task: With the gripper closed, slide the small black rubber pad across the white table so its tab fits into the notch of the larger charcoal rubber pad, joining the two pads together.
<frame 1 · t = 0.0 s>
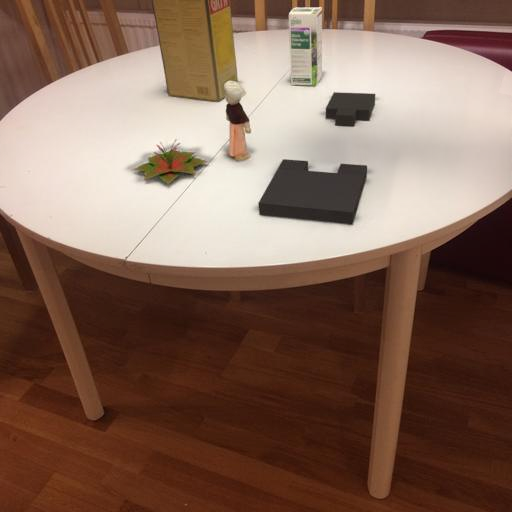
grandmother figurine: (240, 157, 88), on the table
small pad: (350, 111, 99), on the table
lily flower: (171, 170, 86), on the table
syrup box: (306, 82, 114), on the table
food packaging: (203, 92, 114), on the table
base pad: (315, 195, 76), on the table
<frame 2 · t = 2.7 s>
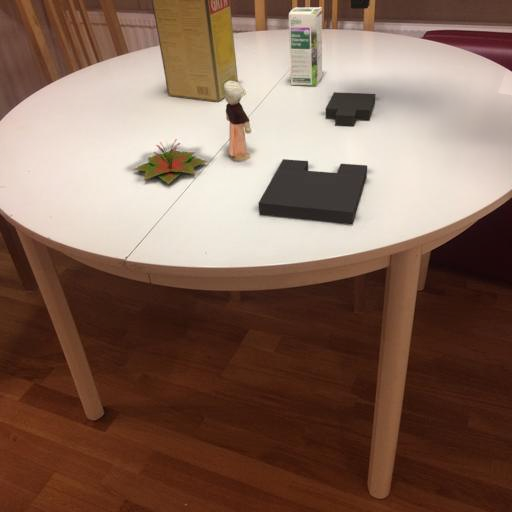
hand: (360, 7, 96), 16 cm above the table, tool pointing down, fingers closed
nothing on the table moved.
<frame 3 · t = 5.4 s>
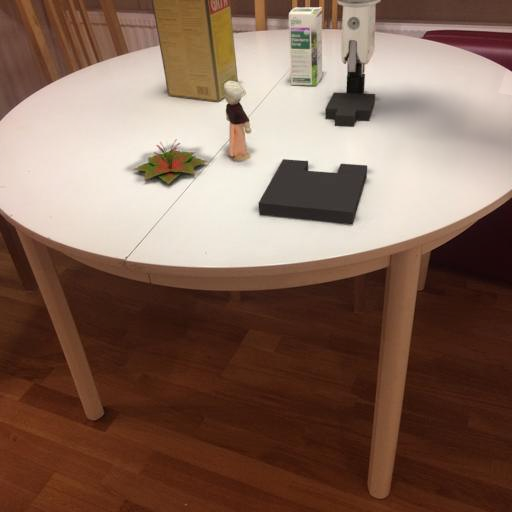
hand: (355, 94, 102), 1 cm above the table, tool pointing down, fingers closed
small pad: (350, 111, 99), on the table, touching gripper
everything else where it was.
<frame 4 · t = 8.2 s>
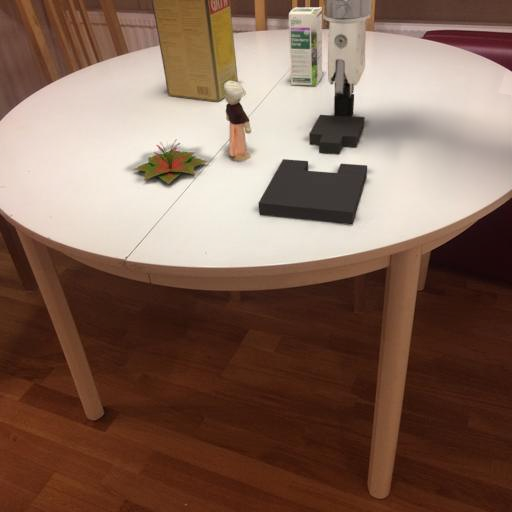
hand: (343, 116, 94), 1 cm above the table, tool pointing down, fingers closed
small pad: (337, 135, 91), on the table, touching gripper
everything else where it was.
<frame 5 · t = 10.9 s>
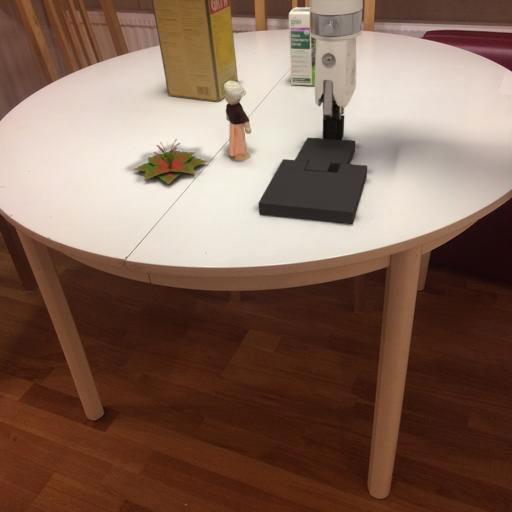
hand: (333, 139, 87), 1 cm above the table, tool pointing down, fingers closed
small pad: (325, 161, 84), on the table, touching base pad, gripper
everything else where it was.
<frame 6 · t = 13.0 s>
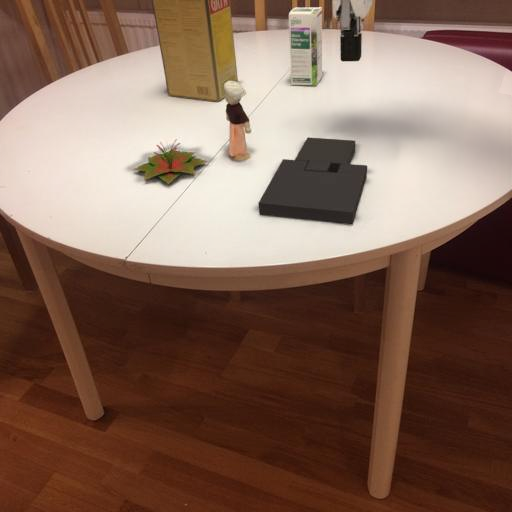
hand: (351, 59, 88), 11 cm above the table, tool pointing down, fingers closed
small pad: (325, 161, 84), on the table, touching base pad
everything else where it was.
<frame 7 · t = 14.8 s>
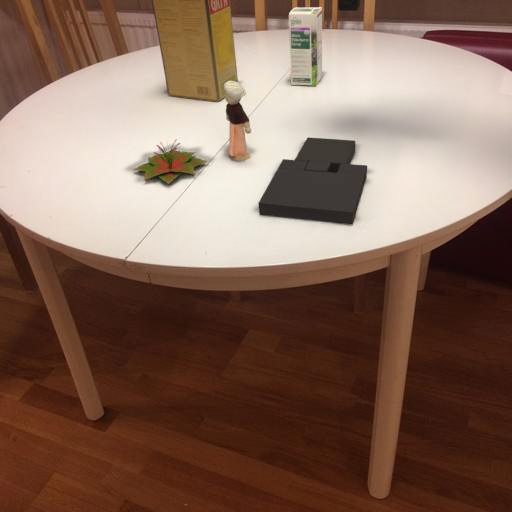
hand: (348, 9, 84), 19 cm above the table, tool pointing down, fingers closed
nothing on the table moved.
at the end: small pad 0.6 cm from the target spot on the table beside the base pad, on the table; small pad touching base pad, table; small pad tilted 0° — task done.
